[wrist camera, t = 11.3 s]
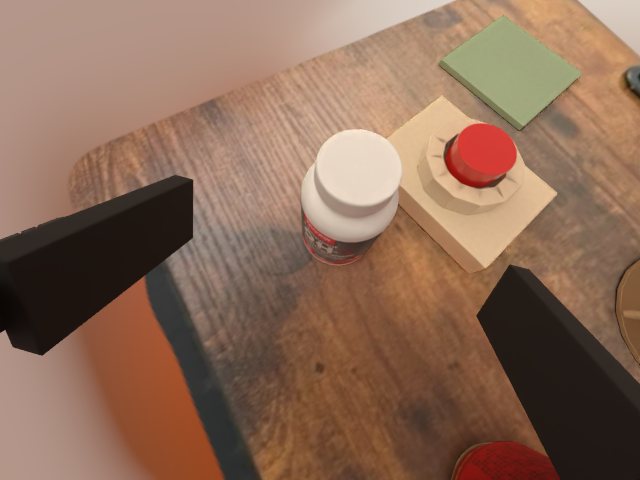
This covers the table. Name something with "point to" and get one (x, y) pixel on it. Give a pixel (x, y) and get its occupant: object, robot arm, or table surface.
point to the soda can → (503, 463)
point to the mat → (510, 71)
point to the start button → (480, 155)
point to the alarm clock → (630, 309)
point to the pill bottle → (349, 195)
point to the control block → (462, 191)
